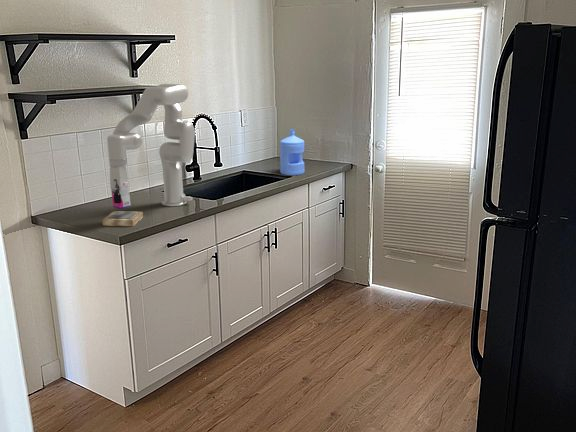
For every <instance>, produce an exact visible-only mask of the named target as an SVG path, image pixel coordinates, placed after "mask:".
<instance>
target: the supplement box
mask: <svg viewBox="0 0 576 432" xmlns="http://www.w3.org/2000/svg"><path fill="white" fill-rule="evenodd" d="M116 188H119V186H118V184H117V185H116ZM110 190H111V199H112V207H113V208H116V209H120V210H121V209H126V208H129V207H131V196H130V188H129V181H128V182H125V183H124V185H123V188H121V190H120V194H121V201H122V203H114V195H113V190H112V189H111V188H110ZM117 191H118V189H117Z"/></svg>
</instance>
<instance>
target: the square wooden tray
mask: <svg viewBox="0 0 576 432" xmlns="http://www.w3.org/2000/svg"><path fill="white" fill-rule="evenodd" d="M143 218H144V212H143V211H125V210H124V211H117V210H116V211H112V212H111V213H109V214H108V215H107V216H105V217H104V218H102V219H101V221H102V226H103V227H104V226H105V227H134V226H135V225H137V224H138V223H139V222H140V221H141V220H142V219H143ZM138 221H139V222H138Z"/></svg>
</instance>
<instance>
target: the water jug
mask: <svg viewBox="0 0 576 432" xmlns="http://www.w3.org/2000/svg"><path fill="white" fill-rule="evenodd" d="M295 130H296V129H294V128H293V129H292V128H291V129H289V136H287V137H285V138H283V139H281V140H280V141H279V142H280V143H279V148H280V150H279V151H280V153H279V154H280V155H279V156H280V157H279V159H280V171H279V172H280V174H282V175H283V176H301V175H304V174H305V172H306V171H305V161H303V153H304V152H305V140H304V139H301V138H300V137H298V136H296V135H295V133H296V132H295Z"/></svg>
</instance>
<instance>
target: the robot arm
mask: <svg viewBox="0 0 576 432" xmlns="http://www.w3.org/2000/svg"><path fill="white" fill-rule="evenodd" d="M188 97H189V89H188V88H187V86H186V85H185V84H182V83H181V84H180V83H162V84H161V83H160V84H158V85H157V86H148V87H147V88H145V89H144V91H143V92H142V94H141V96H140V98H139V99H138V102H137V103H136V105H135V108H134V109H133V111H132V112H130V113H129V114H127V115H126V116H125V117H123V118H122V119H121V120H120V121H119V122H118V123H117V125H116V126H115V128H114V129H113V132H112V134H109V135H107V138H106V140H107V143H106V144H107V153H108V163H109V187H110V190H111V189H112V190H113V195H114V203H122V201H121V194H120V190H121V188H123V185H124V183H125V182H128V183H129V181H128V179H129V178H128V171H127V166H128V163H127V160H128V159H127V151H129V150H130V151H131V150H132V151H133V150H138V149H139V148H141V146H142V144H143V139H142V137H141V135H140V134H138V133H135V132H131V131H132V130H134V129H135V128H137V127H138V126H142V125H144V124H146V123H149V122H150V121H151V119H152V118H153V115H154V113H155V112H156V110H157V108H158V106H163V108H164V123H163V125H164V126H163V134H164V137H165V138H166V139H169V140H172V141H168V142H167V141H166V142H164V143H162V144H161V145H160V147H159V151H158V152H159V153H158V154H159V157H160V161H161V168H162V177H163V191H164V200H162V201H161V205H162V206H166V207H181V206H183V205H186V204H187V202H188V201H189V202H190V201H191V202H192V199H193V198H192V196H190V195H189V196H186V194H185V193H184V187H183V186H184V184H183V169H182V165H181V164H180V163H185V164H186V163H189V162H190V161H191V160H192V159H193V157H194V148H195V137H196V131H195V126H194V125H193V123H191V121H188V120H183V109H182V106H181V104H180V103H184V102H185V101H187V99H188ZM174 141H179V142H174ZM117 184H118V186H119V188H116V185H117ZM117 189H118V191H117Z"/></svg>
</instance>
